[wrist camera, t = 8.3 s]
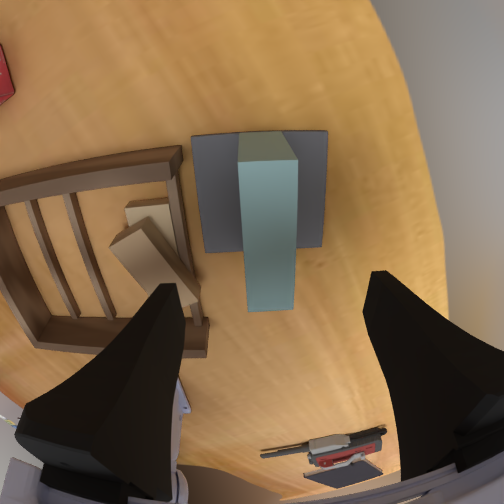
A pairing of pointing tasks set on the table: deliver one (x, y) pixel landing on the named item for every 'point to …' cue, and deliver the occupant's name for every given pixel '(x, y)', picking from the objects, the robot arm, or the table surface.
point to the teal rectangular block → (268, 219)
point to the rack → (86, 249)
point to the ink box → (4, 80)
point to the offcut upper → (153, 261)
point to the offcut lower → (154, 217)
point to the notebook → (345, 474)
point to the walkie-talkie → (337, 448)
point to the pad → (228, 194)
